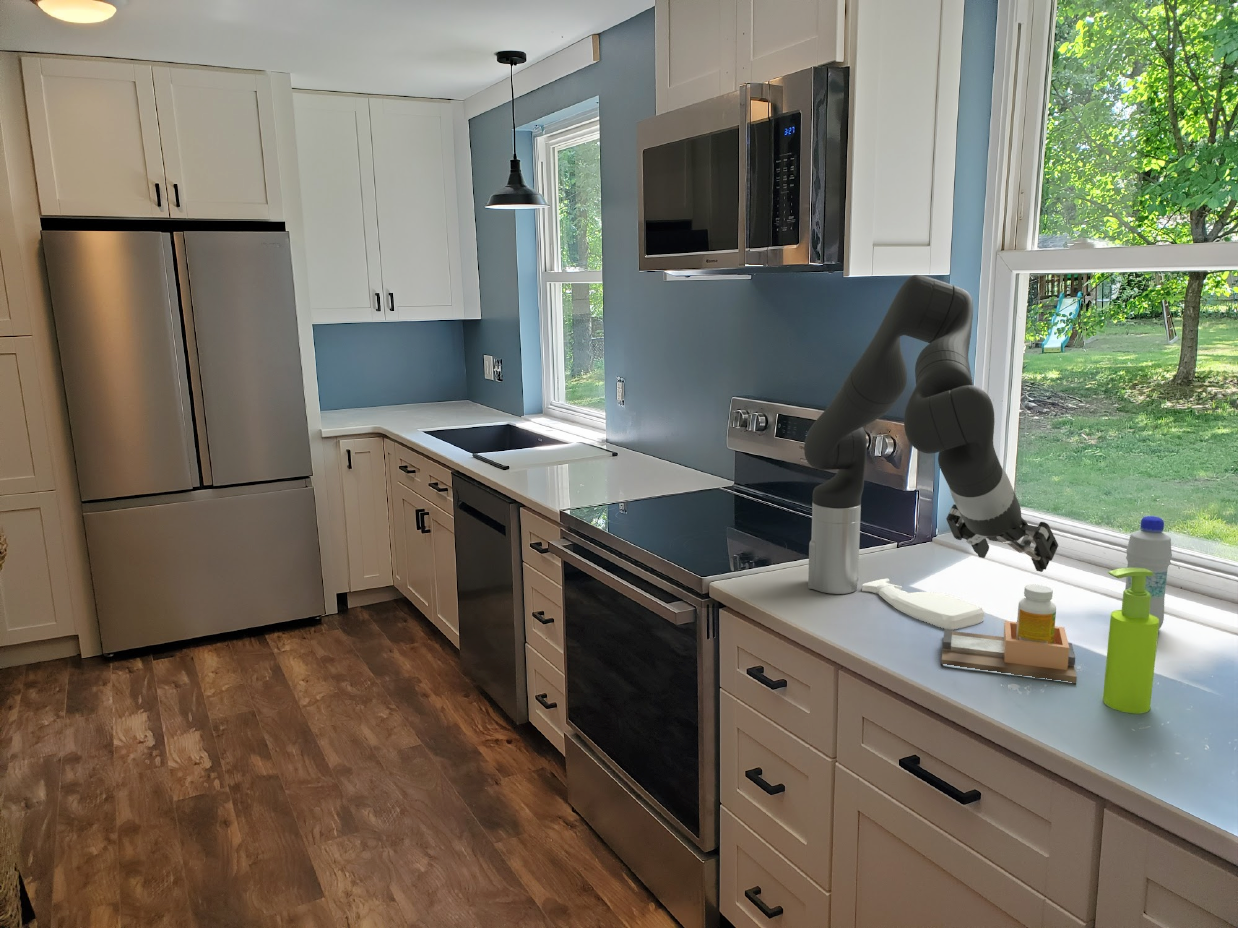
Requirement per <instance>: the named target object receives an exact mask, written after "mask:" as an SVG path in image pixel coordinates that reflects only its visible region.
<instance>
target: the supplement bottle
mask: <svg viewBox="0 0 1238 928" xmlns="http://www.w3.org/2000/svg"><path fill="white" fill-rule="evenodd" d="M1023 595H1024V598H1022V599H1020V600H1019V602H1018V606H1017V607H1018V608H1017V618H1016V619H1017V620H1016V622H1017V630H1016V640H1023V641H1032V642H1040V643H1049V644H1053V643H1054V630H1055V626H1056V618H1057V617H1056V615H1057V605H1056V604H1055V603H1054V602H1053V601H1052V599H1053V589H1052V588H1051V587H1049V586H1047V585H1042V584H1041V585H1040V584H1027V585H1024V591H1023Z"/></svg>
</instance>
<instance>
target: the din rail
mask: <svg viewBox="0 0 1238 928" xmlns="http://www.w3.org/2000/svg"><path fill="white" fill-rule="evenodd" d="M952 631H953V630H952V629H944V630H943V640H942V651H943V650H946V651H954V652H962V653H970V654H978V655H986V656H994V657H1002V658H1004V641H1000V640H992V639H983V638H975V637H966V636H958V635H952ZM1068 644H1069V657H1068V666H1074V667H1075V665H1076V655H1075V651H1074V646H1073V643H1071V642H1068Z"/></svg>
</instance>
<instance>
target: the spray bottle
mask: <svg viewBox="0 0 1238 928" xmlns="http://www.w3.org/2000/svg"><path fill="white" fill-rule="evenodd" d="M902 588H903V586H901V585H896V584H894V583H893V584H892V583H891V582H890V579H889V578H881V579H876V580H872V581H869V582H864V583H863V584H862V585H861V592H870V593H874V594H878V595H879V596H880V597H881V598H882V599H883V600H885V601H886V602H887V603H888V604H889V605H891V606H892V607H893V608H895V609H896V610H898V611H899V612H901V613H904V614H905V615H907V616H909V617H911V618H913V619H916V620H918V619H919V620H918V621H920V622H923V621H924V623H926V622H927V623H926V624H929V623H930V624H929V625H932V624H933V625H932V626H934V625H935V626H934V627H937V626H938V628H940V627H941V629H943V628H944V629H952V631H955V630H958V628H959V629H963V628H966V627H971V626H974V625H978V624H981V623H982V622H983V621H984V618H985V611H984V609H983V607H981V606H980V605H977V604H976V603H973V602H970V601H968V600H965V599H963V598H960V597H956V596H954V595H950V594H947V593H942V592H937V591H917V592H916V591H915V592H907V591H905V590H901V589H902ZM954 629H955V630H954Z"/></svg>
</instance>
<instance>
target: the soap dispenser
mask: <svg viewBox="0 0 1238 928" xmlns="http://www.w3.org/2000/svg"><path fill="white" fill-rule="evenodd" d="M1107 573H1108V574H1109V575H1111V577H1114V578H1116V579H1122V578H1126V577H1129V576H1132V580H1131V588H1129V589H1126V590H1125V589H1124V590H1123V592H1122V601H1121V609H1118V610H1117V609H1116V610H1113V611H1112V612H1111V613H1110V621H1109V629H1108V641H1107V649H1106V650H1107V652H1106V662H1105V673H1104V683H1103V684H1104V685H1103V693H1102V694H1103V696H1102V702H1103V701H1104V702H1103V703H1104V704H1105V705H1106V704H1107V705H1106V706H1107V707H1109V708H1111V709H1113V710H1115V709H1116V711H1118V710H1119V712H1121V713H1122V712H1123V713H1128V714H1134V715H1135V714H1136V715H1137V714H1138V715H1139V714H1145V713H1148V712H1149V711H1150V710H1151V704H1152V693H1153V684H1154V674H1155V666H1156V655H1157V647H1158V645H1157V644H1158V637H1159V630H1160V629H1159V619H1158V618H1157V617H1155V616H1153V615H1151V614H1149V613H1150V603H1151V594H1150V593H1149V592H1147V591H1146V590H1145V582H1146V576H1153V572H1151V571H1149V570H1147V569H1145V568H1127V567H1121V568H1115V569H1113V570H1109V571H1108V572H1107ZM1158 629H1159V630H1158Z"/></svg>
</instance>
